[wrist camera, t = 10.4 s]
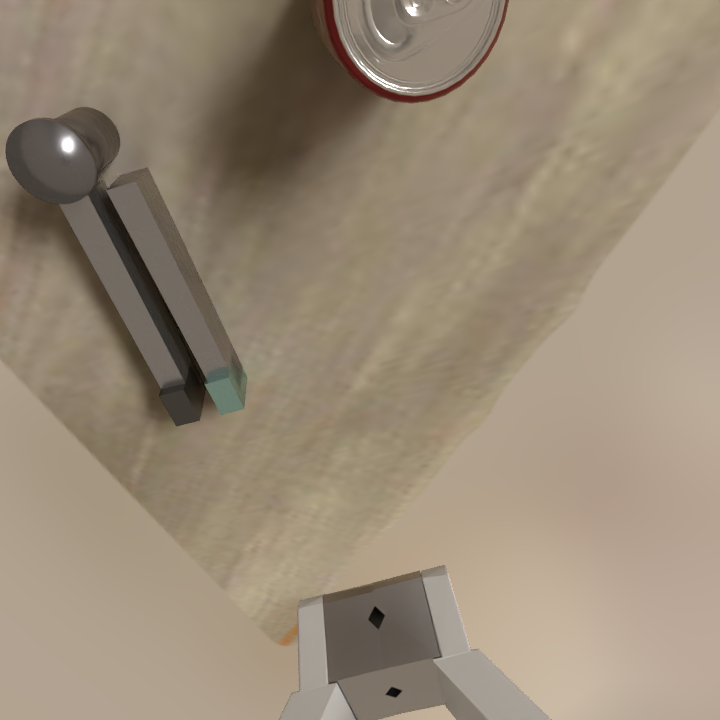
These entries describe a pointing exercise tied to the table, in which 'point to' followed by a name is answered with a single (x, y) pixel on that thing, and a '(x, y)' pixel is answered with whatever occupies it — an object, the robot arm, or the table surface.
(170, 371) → the tongs base
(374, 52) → the soda can
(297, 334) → the table surface
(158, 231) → the bar
